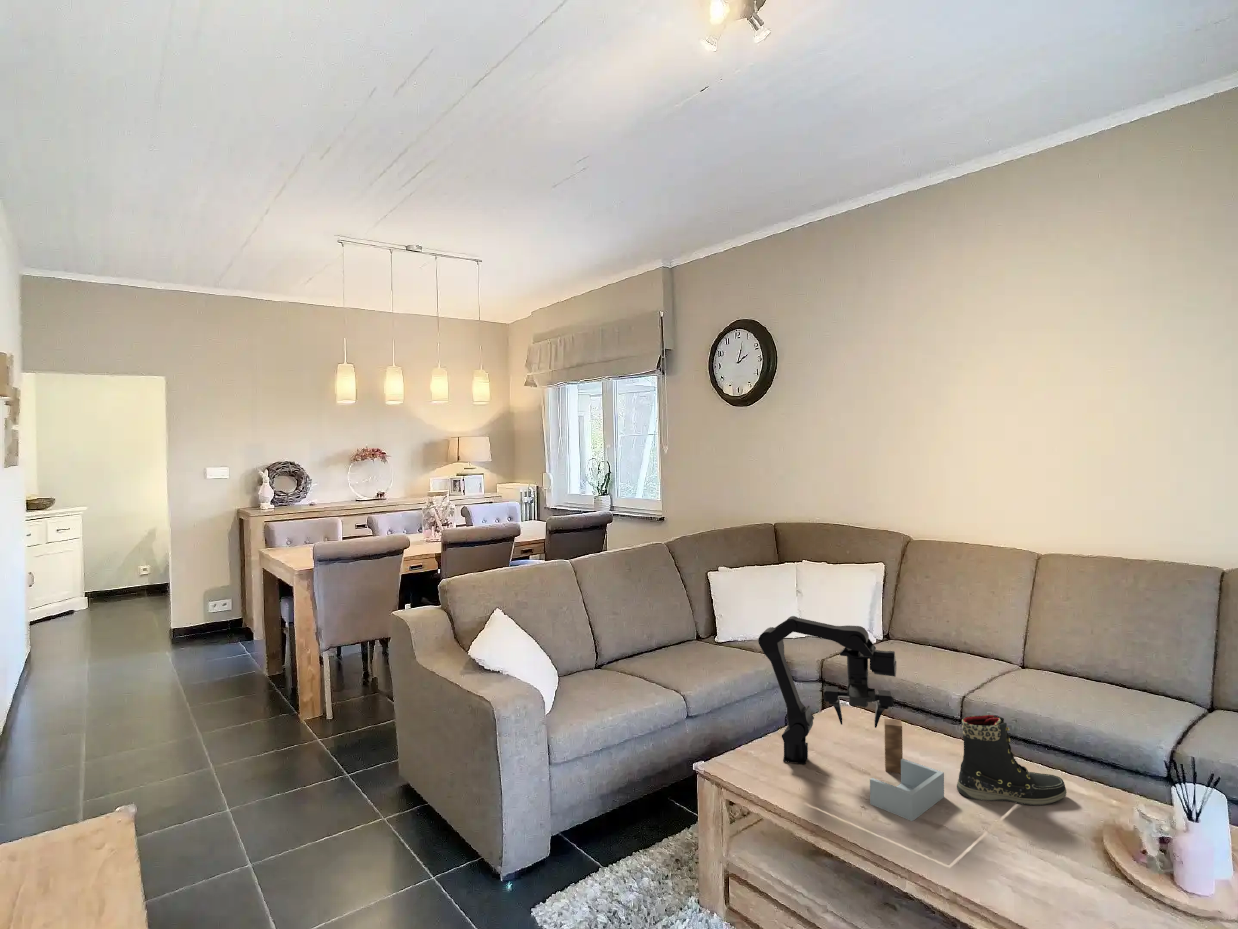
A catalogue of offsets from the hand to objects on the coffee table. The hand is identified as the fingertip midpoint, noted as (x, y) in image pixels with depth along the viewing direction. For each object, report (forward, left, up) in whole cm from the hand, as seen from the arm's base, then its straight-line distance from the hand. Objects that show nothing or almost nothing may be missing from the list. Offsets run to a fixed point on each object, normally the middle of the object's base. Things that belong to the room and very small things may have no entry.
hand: (858, 725), depth 198 cm
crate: (+11, -15, -13) cm, 23 cm away
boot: (+38, -5, -13) cm, 40 cm away
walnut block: (+9, +2, -13) cm, 16 cm away
